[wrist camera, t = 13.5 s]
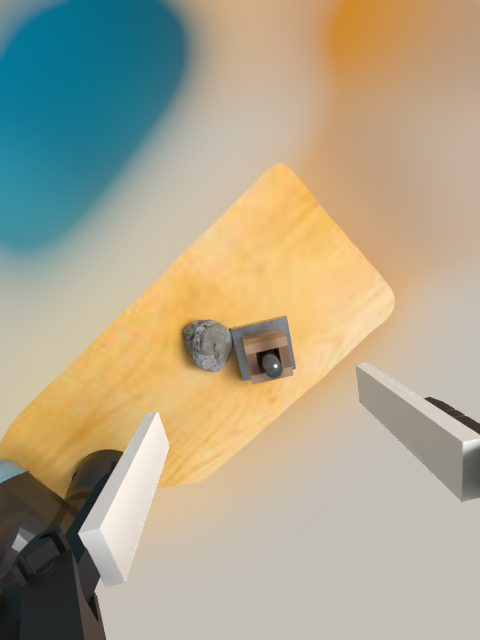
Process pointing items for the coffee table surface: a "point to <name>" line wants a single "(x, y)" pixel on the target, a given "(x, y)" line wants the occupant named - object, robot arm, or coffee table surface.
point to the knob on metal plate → (267, 356)
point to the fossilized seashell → (208, 344)
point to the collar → (261, 343)
